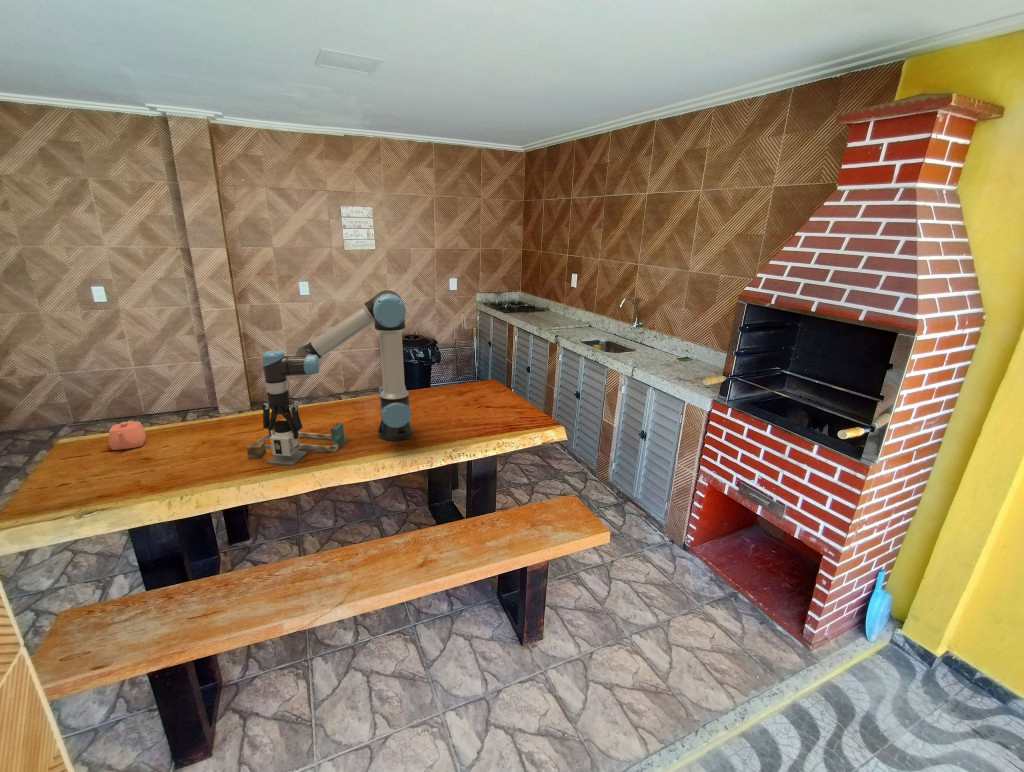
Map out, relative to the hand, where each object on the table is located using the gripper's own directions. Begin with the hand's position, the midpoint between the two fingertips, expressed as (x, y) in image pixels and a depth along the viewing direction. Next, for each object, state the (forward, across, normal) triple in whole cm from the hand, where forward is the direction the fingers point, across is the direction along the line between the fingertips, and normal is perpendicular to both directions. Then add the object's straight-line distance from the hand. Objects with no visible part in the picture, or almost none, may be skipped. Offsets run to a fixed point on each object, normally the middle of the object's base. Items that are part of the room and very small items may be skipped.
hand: (285, 445), depth 195 cm
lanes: (+6, +3, -14) cm, 16 cm away
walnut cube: (+6, +13, 0) cm, 14 cm away
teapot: (+6, +70, +1) cm, 70 cm away
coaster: (+6, 0, 0) cm, 6 cm away
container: (+3, 0, 0) cm, 3 cm away
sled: (+6, -5, -14) cm, 16 cm away
